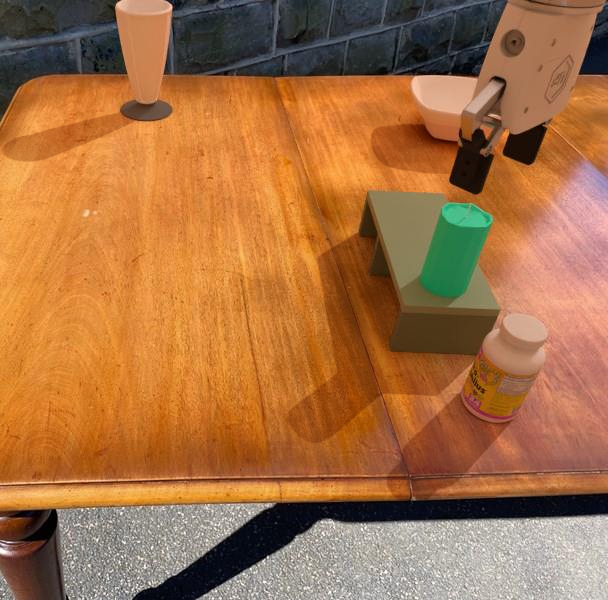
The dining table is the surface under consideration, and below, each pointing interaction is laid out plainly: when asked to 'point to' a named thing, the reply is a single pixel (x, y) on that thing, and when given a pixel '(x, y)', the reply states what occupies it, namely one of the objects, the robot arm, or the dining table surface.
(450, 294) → the candle
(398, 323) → the shelf
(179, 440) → the dining table surface
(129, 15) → the cup
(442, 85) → the bowl
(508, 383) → the supplement bottle
